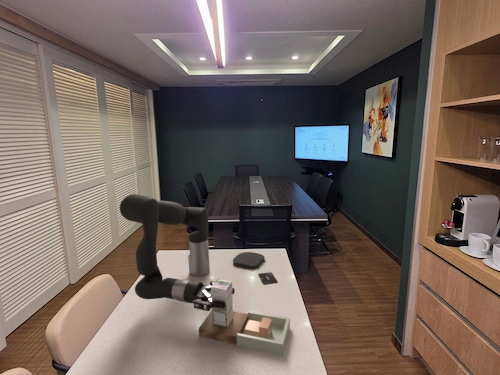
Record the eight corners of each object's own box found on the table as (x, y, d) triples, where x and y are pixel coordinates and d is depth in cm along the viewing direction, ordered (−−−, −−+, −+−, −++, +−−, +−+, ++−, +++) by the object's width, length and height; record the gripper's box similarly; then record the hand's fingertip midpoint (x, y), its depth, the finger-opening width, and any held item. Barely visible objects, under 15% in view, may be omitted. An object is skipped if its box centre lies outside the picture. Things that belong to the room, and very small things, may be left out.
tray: (237, 345, 92) (236, 335, 91) (249, 320, 104) (248, 310, 103) (282, 355, 87) (282, 344, 86) (289, 328, 99) (289, 318, 99)
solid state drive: (263, 285, 128) (263, 284, 128) (257, 275, 137) (257, 273, 137) (278, 283, 129) (278, 282, 129) (271, 273, 139) (271, 271, 139)
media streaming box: (255, 271, 141) (255, 265, 140) (230, 266, 147) (230, 260, 147) (266, 259, 154) (266, 254, 153) (243, 254, 160) (242, 250, 160)
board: (199, 336, 96) (198, 328, 96) (213, 314, 107) (213, 307, 107) (237, 344, 92) (237, 336, 91) (248, 321, 103) (248, 314, 103)
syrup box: (233, 317, 101) (232, 280, 98) (227, 328, 95) (226, 289, 93) (218, 314, 103) (217, 278, 100) (211, 325, 97) (210, 286, 94)
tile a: (244, 337, 95) (244, 329, 94) (249, 327, 99) (249, 319, 99) (259, 340, 93) (259, 332, 92) (263, 330, 98) (263, 322, 97)
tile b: (258, 326, 92) (267, 328, 91) (263, 317, 97) (271, 318, 96) (259, 340, 93) (268, 342, 92) (263, 330, 98) (271, 331, 97)
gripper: (176, 292, 94) (221, 299, 89) (196, 272, 107) (236, 277, 103) (177, 312, 96) (222, 320, 91) (197, 290, 109) (237, 296, 104)
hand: (229, 297), depth 97 cm, fingers open, 8 cm apart
